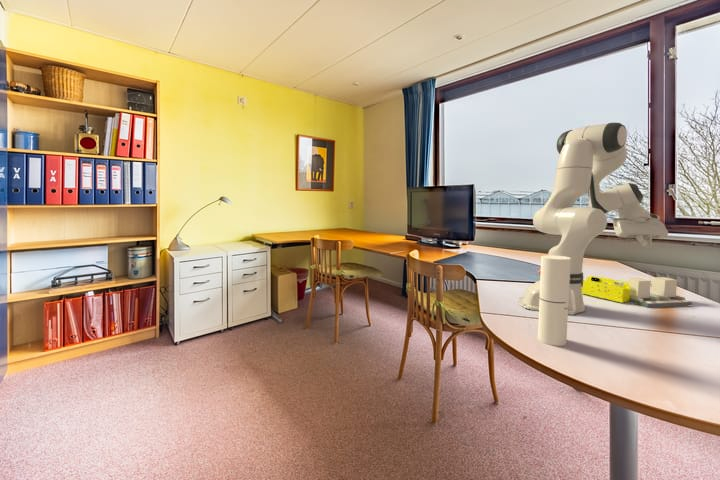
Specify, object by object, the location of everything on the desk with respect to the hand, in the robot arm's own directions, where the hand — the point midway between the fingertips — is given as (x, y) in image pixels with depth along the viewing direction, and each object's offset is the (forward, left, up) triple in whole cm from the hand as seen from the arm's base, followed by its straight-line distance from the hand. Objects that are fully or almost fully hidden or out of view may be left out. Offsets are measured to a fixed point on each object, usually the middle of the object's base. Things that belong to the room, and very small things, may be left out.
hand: (648, 245), depth 128 cm
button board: (-3, -11, -21) cm, 24 cm away
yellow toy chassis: (-19, -9, -22) cm, 30 cm away
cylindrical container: (-52, -60, -22) cm, 82 cm away
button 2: (+2, -8, -19) cm, 21 cm away
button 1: (-8, -12, -19) cm, 24 cm away
